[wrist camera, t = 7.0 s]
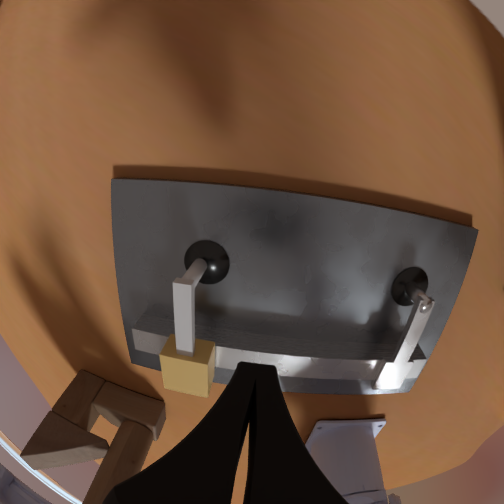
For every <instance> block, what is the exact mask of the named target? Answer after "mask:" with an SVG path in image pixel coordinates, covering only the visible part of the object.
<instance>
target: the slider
mask: <svg viewBox="0 0 504 504" xmlns="http://www.w3.org/2000/svg"><path fill="white" fill-rule="evenodd" d="M206 268H207V263H206V262H205V260H203V259H200V258H199V259H196V260H195V261H194V262H193V263H192V265H191V266H190V267H189V269H188V270H187V272H186V273H185V274H184V276H183V277H182V278H176V279H175V280H174V281H173V303H174V322H175V334H170V336H169V338H168V340H167V342H166V343H165V345H164V347H163V349H162V351H161V352H160V354H159V356H160V363H161V370H162V376H163V382H164V388H166V389H170V390H174V391H178V392H182V393H187V394H191V395H196V396H201V397H206V398H208V396H209V392H210V389H211V385H212V382H213V378H214V367H215V342H213V341H207V340H201V339H196V338H195V287H196V285H197V284H198V282H199V280H200V279H201V277H202V275H203V274H204V272H205V270H206Z"/></svg>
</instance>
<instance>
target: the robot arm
mask: <svg viewBox="0 0 504 504" xmlns="http://www.w3.org/2000/svg"><path fill="white" fill-rule="evenodd" d="M248 424H249V449H248V472H247V481H246V487H245V494H244V501H243V504H388V502H387V496H386V490H385V489H384V484H383V478H382V473H381V468H380V463H379V458H378V453H377V448H376V444H375V439H374V438H375V437H376V435H377V434H378V433H379V432H380V430H381V429H382V428H383V426H384V425H385V424H386V419H369V420H337V421H329V420H321V421H318V422H317V423H316V424H315V426H314V428H313V430H312V432H311V434H310V436H309V438H308V440H307V442H306V444H305V445H304V443H303V441H302V439H301V437H300V435H299V433H298V431H297V429H296V427H295V425H294V423H293V420H292V418H291V416H290V413H289V411H288V408H287V405H286V403H285V400H284V397H283V394H282V391H281V387H280V383H279V379H278V374H277V368H276V367H275V365H268V364H259V363H251V362H243V361H241V362H239V363H238V364H237V367H236V370H235V372H234V374H233V376H232V378H231V380H230V381H229V383H228V385H227V386H226V388H225V390H224V391H223V393H222V394H221V396H220V397H219V399H218V400H217V401H216V403H215V404H214V405H213V407H212V408H211V409H210V410H209V412H208V413H207V414H206V415H205V417H204V418H203V419H202V420H201V421H200V423H199V424H198V425H197V426H196V427H195V428H194V429H193V430H192V431H191V432H190V433H189V434H188V435H187V436H186V437H185V438H184V439H183V440H182V441H181V442H179V443H178V444H177V445H176V446H175V447H174V448H173V449H172V450H170V451H169V452H168V453H167V454H165V455H164V456H163V457H161V458H160V459H158V460H157V461H156V462H154V463H153V464H151V465H150V466H148V467H147V468H146V469H144V470H142V471H141V472H139V473H137V474H136V475H134V476H132V477H130V478H128V479H127V480H125V481H123V482H121V483H119V484H117V485H115V486H114V487H113V488H112V489H111V491H110V492H109V493H108V495H107V496H106V497H105V499H104V501H103V502H102V504H231V499H232V493H233V487H234V481H235V475H236V470H237V466H238V462H239V458H240V455H241V451H242V447H243V443H244V439H245V436H246V432H247V428H248ZM388 497H389V502H390V503H389V504H401V500H400V497H399V496H397V495H395V494H390V495H389V496H388ZM0 504H52V503H50V502H49V501H47V500H46V499H44V498H43V497H41V496H40V495H39V494H37V493H36V492H34V491H33V490H32V489H30V488H29V487H28V486H27V485H25V484H24V483H23V482H21V481H20V480H19V479H18V478H16V477H15V476H14V475H13V474H12V473H11V472H10V471H9V470H7V469H6V468H5V467H4V466H3V465H1V463H0Z"/></svg>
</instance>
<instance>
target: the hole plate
mask: <svg viewBox="0 0 504 504" xmlns="http://www.w3.org/2000/svg"><path fill="white" fill-rule="evenodd" d="M111 208H112V231H113V246H114V258H115V268H116V277H117V285H118V293H119V300H120V306H121V313H122V319H123V324H124V330H125V335H126V340H127V345H128V350H129V354H130V359H131V363H133V364H136V365H140V366H144V367H147V368H151V369H155V370H159V371H162V370H161V363H160V356H159V354H160V352H161V351H162V349H163V347H164V345H165V343H166V342H167V340H168V338H169V336H170V334H175V322H174V303H173V281H174V280H175V279H176V278H182V277H183V276H184V274H185V273H186V272H187V270H188V269H189V267H190V266H191V265H192V263H193V262H194V261H195V260H196V259H199V258H200V259H203V260H205V262H206V263H207V268H206V270H205V272H204V274H203V275H202V277H201V279H200V280H199V282H198V284H197V285H196V287H195V338H196V339H201V340H207V341H213V342H215V367H214V378H213V382H215V383H221V384H227V385H228V383H229V381H230V380H231V378H232V376H233V374H234V372H235V370H236V367H237V364H238V363H239V362H241V361H243V362H251V363H259V364H268V365H275V367H276V368H277V374H278V379H279V383H280V387H281V391H284V392H297V393H314V394H387V393H403V392H409V391H410V389H411V388H412V386H413V385H414V383H415V381H416V380H417V378H418V376H419V375H420V373H421V371H422V369H423V368H424V366H425V364H426V362H427V360H428V359H429V357H430V355H431V353H432V351H433V349H434V347H435V345H436V343H437V341H438V339H439V337H440V335H441V333H442V331H443V329H444V327H445V325H446V322H447V320H448V318H449V316H450V313H451V311H452V309H453V306H454V304H455V301H456V299H457V296H458V294H459V291H460V288H461V286H462V283H463V280H464V277H465V274H466V271H467V268H468V265H469V262H470V259H471V256H472V252H473V249H474V246H475V242H476V238H477V234H478V231H479V230H478V229H476V228H474V227H471V226H467V225H464V224H460V223H456V222H452V221H448V220H444V219H440V218H436V217H431V216H427V215H423V214H418V213H414V212H409V211H405V210H400V209H395V208H390V207H385V206H380V205H375V204H369V203H364V202H358V201H353V200H347V199H341V198H335V197H328V196H322V195H315V194H309V193H301V192H294V191H287V190H279V189H271V188H262V187H253V186H244V185H234V184H223V183H212V182H199V181H185V180H168V179H147V178H114V179H111Z"/></svg>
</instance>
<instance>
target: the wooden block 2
mask: <svg viewBox="0 0 504 504" xmlns="http://www.w3.org/2000/svg"><path fill="white" fill-rule="evenodd" d="M100 414H101V415H102V416H103V417H104V418H105V419H107V420H108V421H109V422H110V423H111V424H113V425H115V426H117V427H119V429H118V431H117V433H116V435H115V437H114V439H113V441H112V443H111V445H110V447H109V445H108V443H107V441H106V440H105V439H103V438H101V437H99V436H97V435H94V434H92V433H90V430H91V428H92V427H93V425H94V423H95V422H96V420H97V418H98V416H99V415H100ZM165 420H166V415H165V403H164V402H162V401H159V400H156V399H153V398H150V397H147V396H144V395H142V394H139V393H136V392H133V391H131V390H128V389H125V388H123V387H120V386H118V385H115V384H113V383H110V382H108V381H105V380H104V379H102V378H100V377H97V376H95V375H93V374H91V373H89V372H86V371H84V370H80V371H79V373H78V374H77V375H76V377H75V378H74V379H73V381H72V382H71V383H70V385H69V386H68V387H67V389H66V390H65V391H64V393H63V394H62V395H61V397H60V398H59V399H58V401H57V402H56V404H55V405H54V406H53V408H52V411H49V412H48V414H47V415H46V417H45V418H44V419H43V421H42V422H41V424H40V425H39V427H38V428H37V430H36V431H35V433H34V434H33V436H32V437H31V439H30V440H29V442H28V443H27V445H26V446H25V448H24V449H23V451H22V452H21V454H20V457H21V458H22V459H23V460H24V461H25V462H26V463H27V464H28V465H29V466H30V467H31V468H32V469H34V470H39V469H46V468H54V467H60V466H66V465H71V464H76V463H82V462H86V461H91V460H95V459H100V458H104V459H103V461H102V463H101V465H100V467H99V469H98V471H97V473H96V475H95V478H94V480H93V482H92V484H91V486H90V488H89V490H88V492H87V495H86V497H85V499H84V501H83V503H82V504H102V502H103V501H104V499H105V497H106V496H107V495H108V493H109V492H110V491H111V489H112V488H113V487H114V486H115V485H117V484H119V483H121V482H123V481H125V480H127V479H128V478H130V477H132V476H134V475H136V474H137V473H139V472H140V471H141V469H142V466H143V464H144V461H145V459H146V456H147V454H148V451H149V449H150V446H151V444H152V441H153V440H154V441H157V440H158V438H159V435H160V433H161V430H162V428H163V425H164V422H165Z"/></svg>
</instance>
